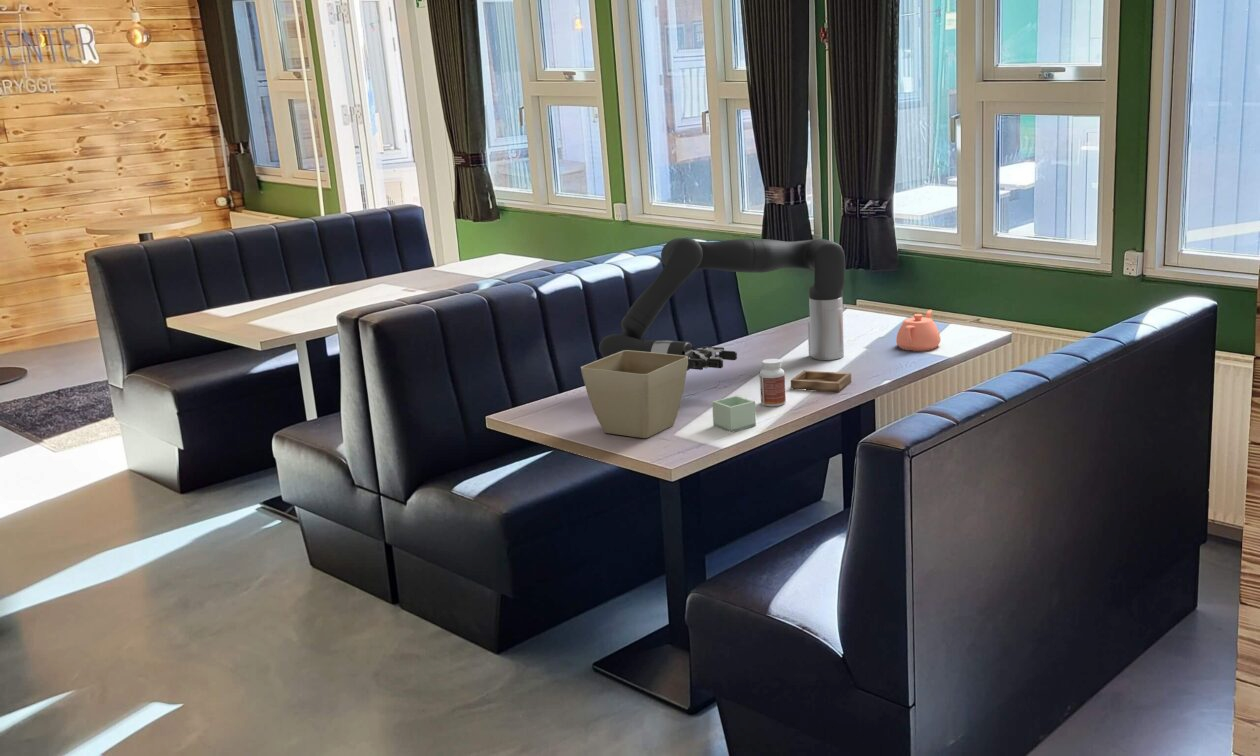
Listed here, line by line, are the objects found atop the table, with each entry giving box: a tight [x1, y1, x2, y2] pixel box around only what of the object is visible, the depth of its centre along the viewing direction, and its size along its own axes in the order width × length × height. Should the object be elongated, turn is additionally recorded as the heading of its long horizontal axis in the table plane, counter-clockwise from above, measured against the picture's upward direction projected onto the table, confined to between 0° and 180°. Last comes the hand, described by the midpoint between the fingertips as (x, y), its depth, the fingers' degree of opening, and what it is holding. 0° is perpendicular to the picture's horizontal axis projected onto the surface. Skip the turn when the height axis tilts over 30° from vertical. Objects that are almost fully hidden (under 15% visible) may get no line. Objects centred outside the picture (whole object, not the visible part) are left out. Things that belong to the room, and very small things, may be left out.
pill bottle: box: [759, 358, 787, 407], centre depth 306 cm, size 6×6×11 cm
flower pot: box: [580, 350, 688, 439], centre depth 292 cm, size 19×19×17 cm
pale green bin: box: [711, 395, 757, 433], centre depth 291 cm, size 7×7×6 cm
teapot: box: [895, 309, 941, 352], centre depth 352 cm, size 12×18×10 cm
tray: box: [790, 369, 852, 393], centre depth 320 cm, size 13×10×2 cm
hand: (729, 359), depth 310 cm, fingers open, 8 cm apart
